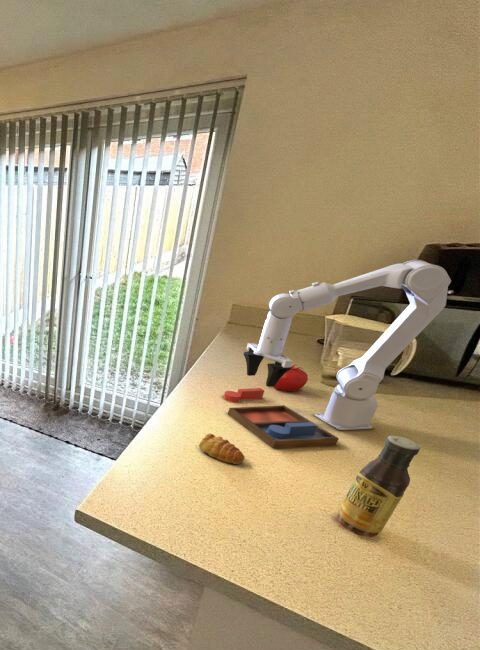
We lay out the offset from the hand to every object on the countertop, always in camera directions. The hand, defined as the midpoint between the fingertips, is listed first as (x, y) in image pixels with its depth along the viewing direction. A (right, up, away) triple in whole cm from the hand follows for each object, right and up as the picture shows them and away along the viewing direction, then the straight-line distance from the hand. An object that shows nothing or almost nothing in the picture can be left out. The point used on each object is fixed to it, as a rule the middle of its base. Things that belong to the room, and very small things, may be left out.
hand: (260, 380), depth 116 cm
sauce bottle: (-12, -27, -41) cm, 50 cm away
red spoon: (0, -6, +8) cm, 10 cm away
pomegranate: (+18, -3, +14) cm, 23 cm away
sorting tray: (-2, -13, -9) cm, 16 cm away
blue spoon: (-2, -14, -13) cm, 19 cm away
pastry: (-24, -18, -18) cm, 35 cm away
